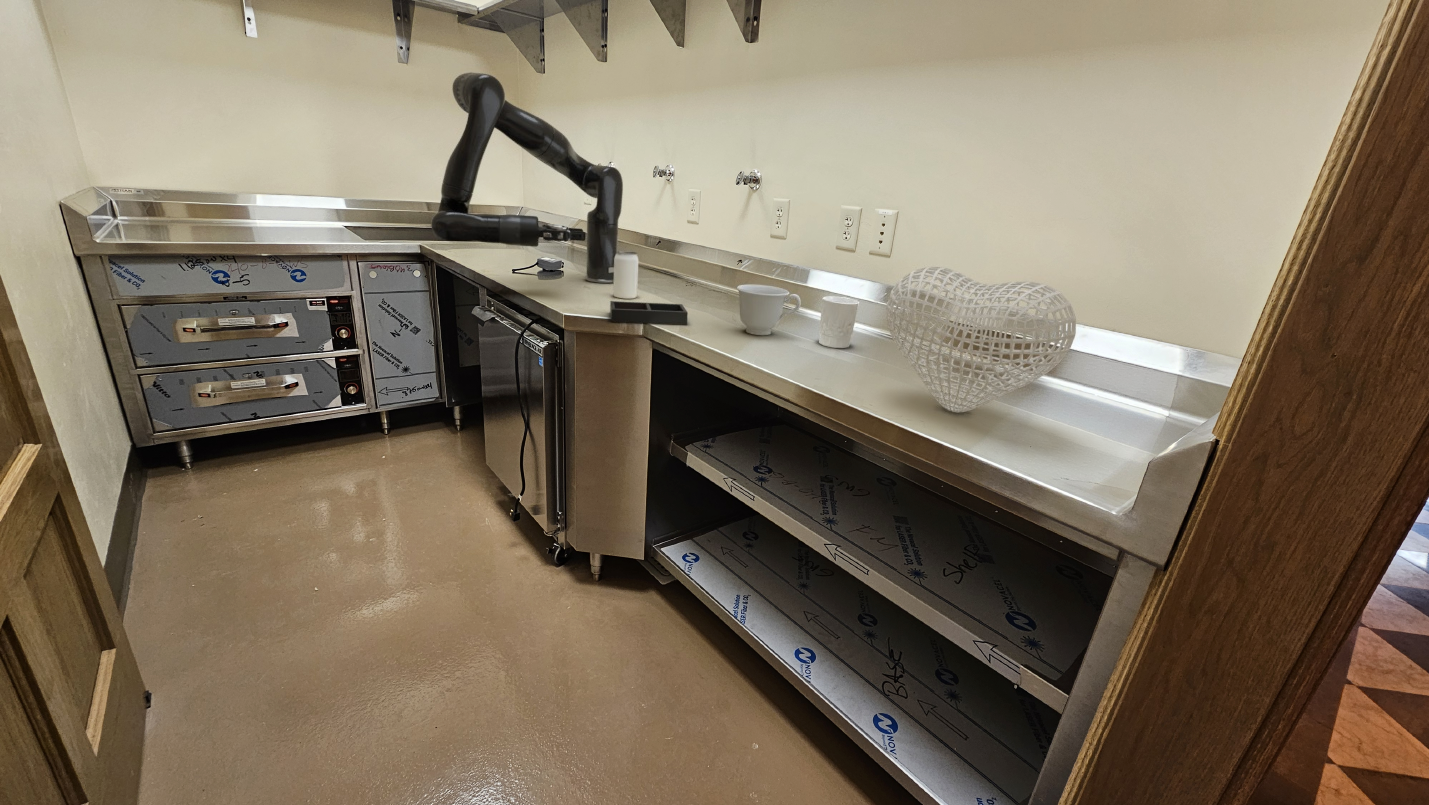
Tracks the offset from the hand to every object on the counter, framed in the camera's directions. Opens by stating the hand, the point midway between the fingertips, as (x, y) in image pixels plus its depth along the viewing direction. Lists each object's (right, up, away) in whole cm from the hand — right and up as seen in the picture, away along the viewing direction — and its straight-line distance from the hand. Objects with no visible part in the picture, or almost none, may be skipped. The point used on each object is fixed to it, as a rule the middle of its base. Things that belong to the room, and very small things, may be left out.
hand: (584, 234), depth 158 cm
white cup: (+61, -31, -23) cm, 72 cm away
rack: (+18, -24, -14) cm, 33 cm away
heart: (+73, -45, -59) cm, 104 cm away
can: (+9, -15, +9) cm, 20 cm away
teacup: (+45, -28, -18) cm, 56 cm away
